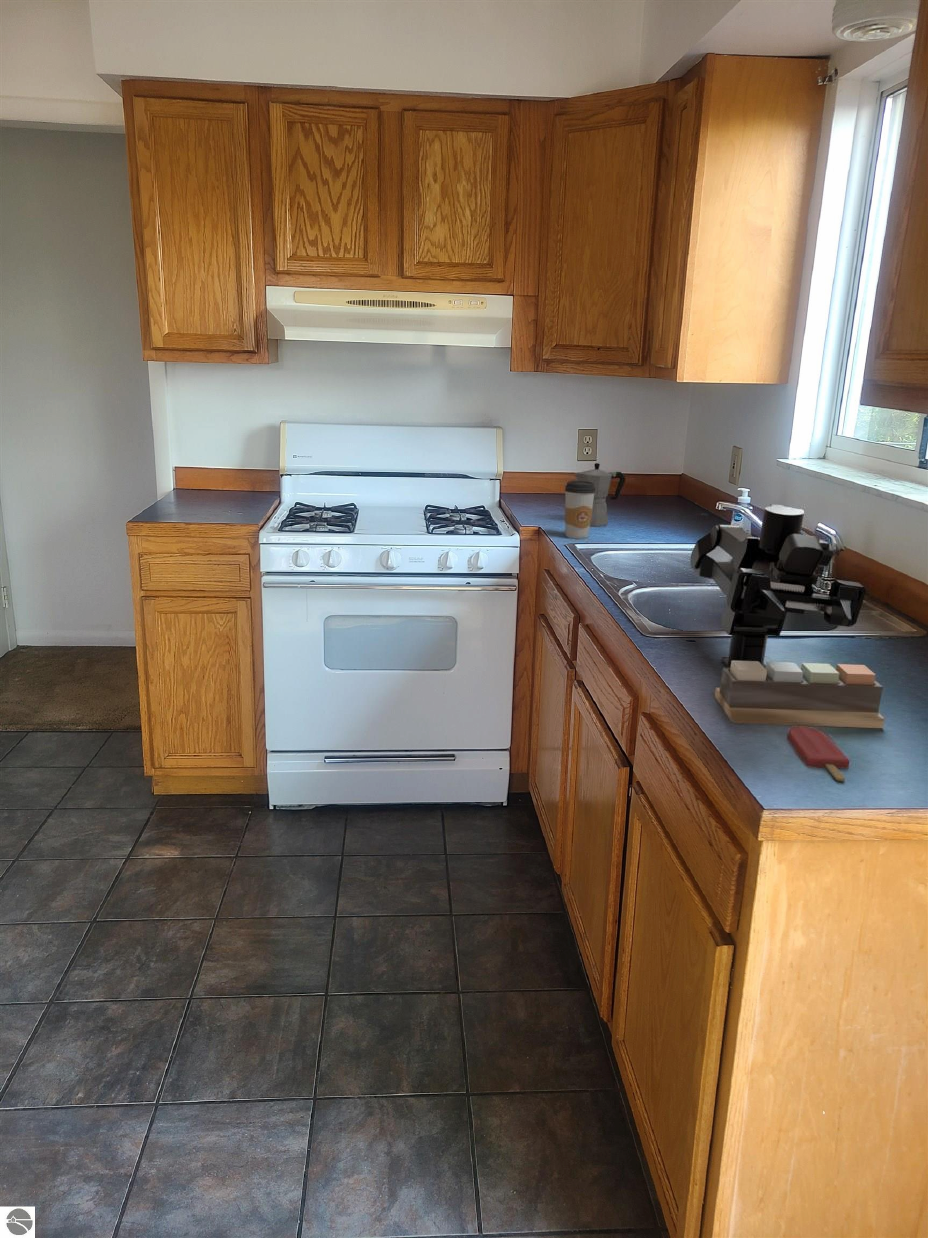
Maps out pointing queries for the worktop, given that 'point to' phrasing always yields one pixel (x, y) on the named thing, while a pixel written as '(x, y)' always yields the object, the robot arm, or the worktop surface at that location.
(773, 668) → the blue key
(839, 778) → the popsicle
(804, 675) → the sage key
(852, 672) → the terracotta key
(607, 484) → the coffeepot
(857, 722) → the brown long open box
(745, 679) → the ivory key
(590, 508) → the coffee cup
